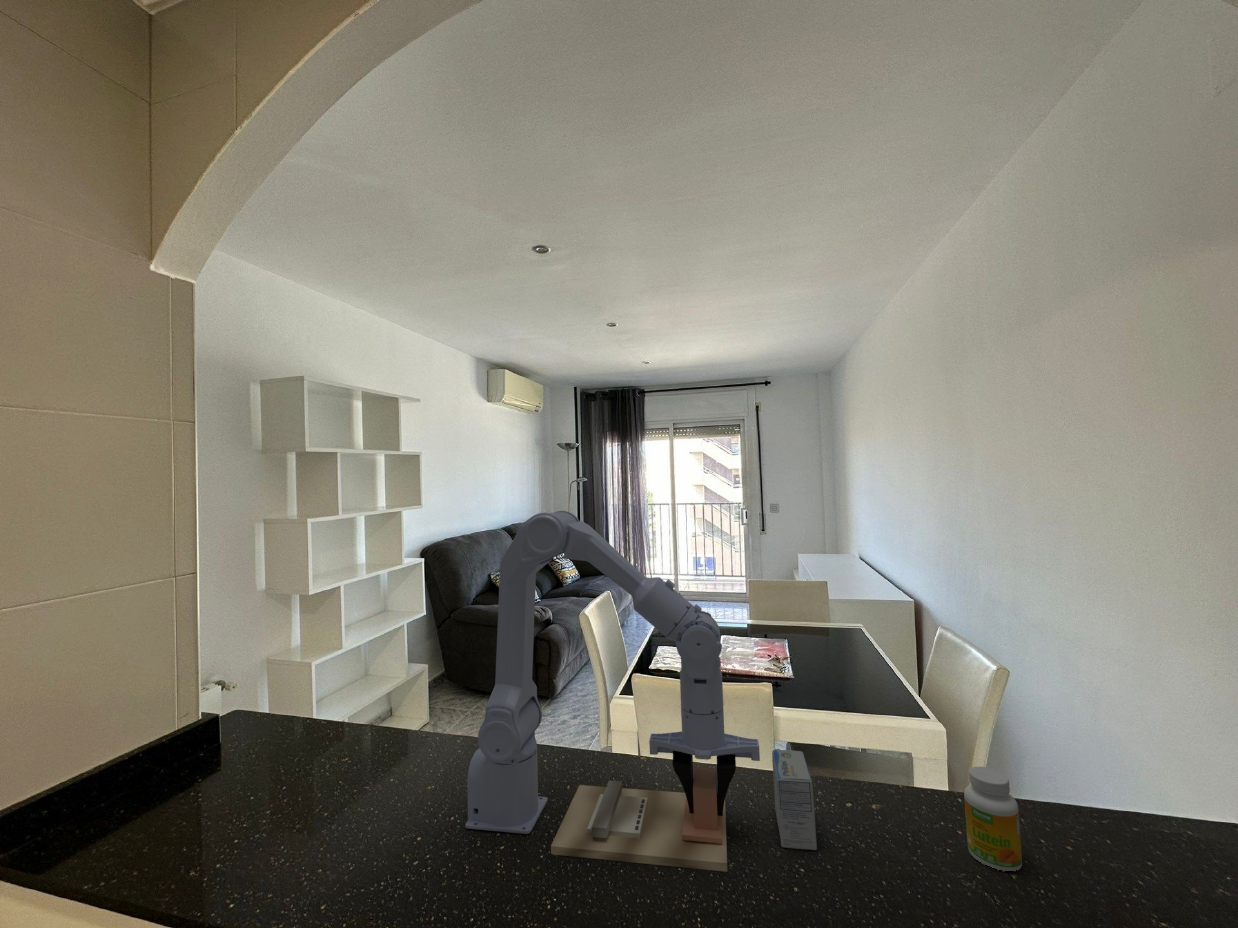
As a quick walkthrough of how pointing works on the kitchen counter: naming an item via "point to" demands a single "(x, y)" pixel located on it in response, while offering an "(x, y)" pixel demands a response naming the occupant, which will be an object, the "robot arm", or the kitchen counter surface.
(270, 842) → the kitchen counter surface
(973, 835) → the supplement bottle
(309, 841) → the kitchen counter surface
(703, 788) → the stub
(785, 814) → the medicine box
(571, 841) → the board
